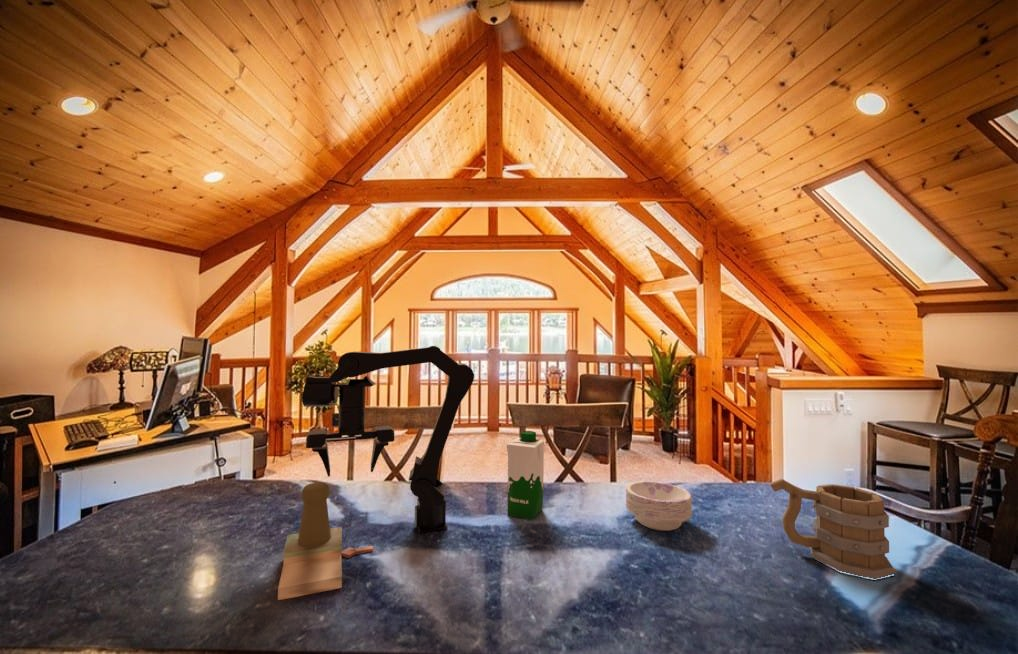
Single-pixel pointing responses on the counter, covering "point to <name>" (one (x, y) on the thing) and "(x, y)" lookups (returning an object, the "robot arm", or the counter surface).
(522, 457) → the milk carton
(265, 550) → the counter surface
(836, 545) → the tankard
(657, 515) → the paper bowls
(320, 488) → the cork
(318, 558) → the tan piece
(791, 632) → the counter surface
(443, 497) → the robot arm
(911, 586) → the counter surface
